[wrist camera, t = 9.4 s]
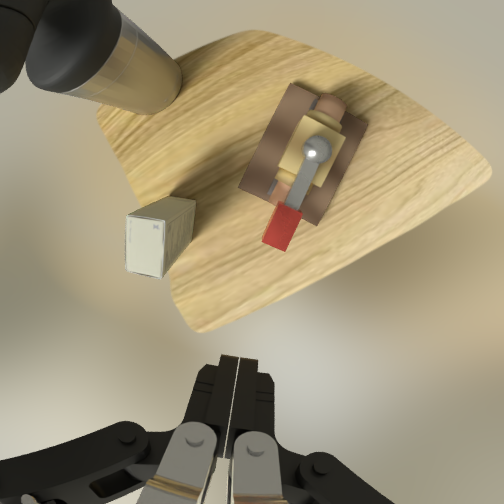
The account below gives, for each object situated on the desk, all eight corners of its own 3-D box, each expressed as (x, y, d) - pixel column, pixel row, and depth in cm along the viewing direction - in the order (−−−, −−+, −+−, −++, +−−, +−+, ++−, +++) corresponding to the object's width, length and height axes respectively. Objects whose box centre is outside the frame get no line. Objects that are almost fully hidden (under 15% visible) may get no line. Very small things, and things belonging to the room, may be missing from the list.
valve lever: (307, 133, 24) (310, 130, 22) (331, 144, 24) (336, 143, 23) (261, 235, 28) (260, 241, 26) (284, 246, 28) (285, 252, 26)
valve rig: (315, 223, 36) (327, 240, 28) (239, 186, 35) (230, 193, 27) (364, 125, 31) (389, 117, 23) (289, 86, 30) (295, 64, 22)
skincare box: (167, 195, 36) (124, 211, 24) (198, 200, 36) (166, 218, 24) (163, 239, 38) (122, 271, 26) (192, 245, 38) (161, 280, 26)
